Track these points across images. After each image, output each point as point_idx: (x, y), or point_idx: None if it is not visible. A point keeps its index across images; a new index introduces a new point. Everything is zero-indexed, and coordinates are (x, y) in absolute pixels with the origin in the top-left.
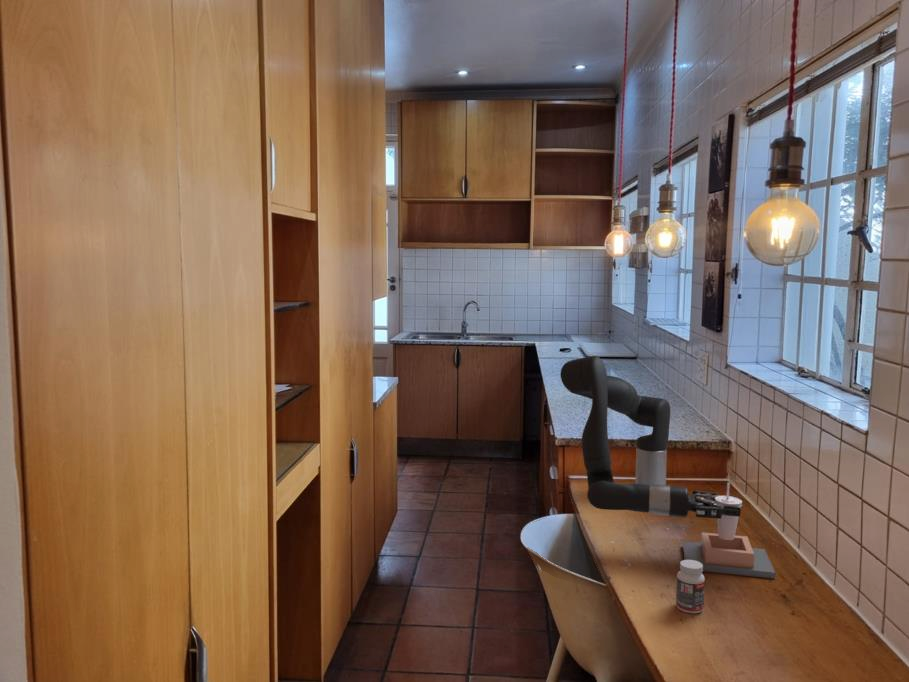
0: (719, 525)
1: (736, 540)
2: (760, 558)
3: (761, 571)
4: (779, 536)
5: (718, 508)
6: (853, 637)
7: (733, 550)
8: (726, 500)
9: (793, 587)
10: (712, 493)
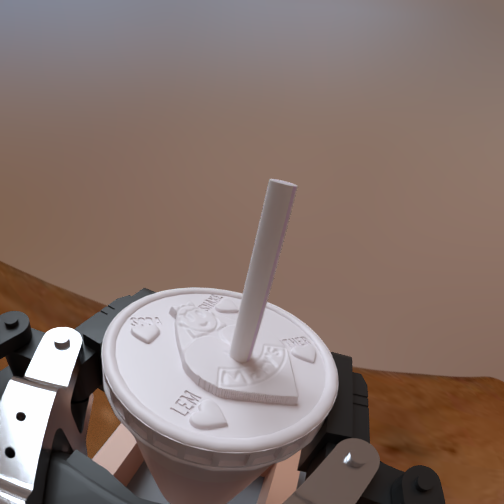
0: (212, 502)
1: None
2: None
3: None
4: (88, 301)
5: (437, 491)
6: (474, 398)
7: (277, 499)
8: (265, 372)
9: None
10: (4, 335)
